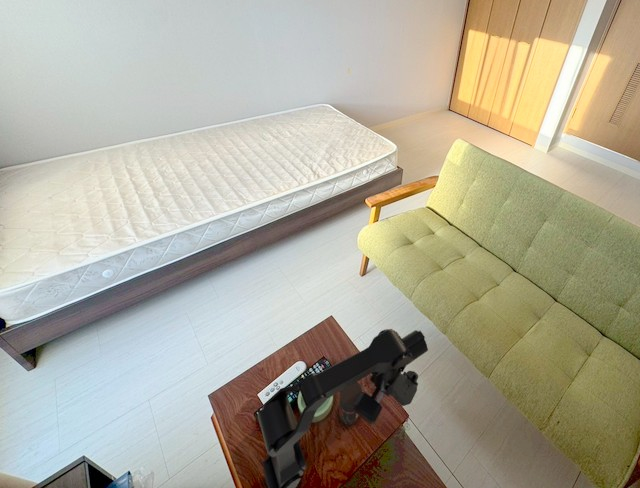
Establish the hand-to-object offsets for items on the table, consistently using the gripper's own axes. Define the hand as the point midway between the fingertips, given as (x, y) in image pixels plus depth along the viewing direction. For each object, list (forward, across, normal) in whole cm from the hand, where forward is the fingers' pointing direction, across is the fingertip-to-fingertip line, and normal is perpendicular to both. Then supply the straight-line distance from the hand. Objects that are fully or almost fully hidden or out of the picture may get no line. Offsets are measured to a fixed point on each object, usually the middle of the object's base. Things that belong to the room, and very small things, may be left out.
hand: (380, 393), depth 83 cm
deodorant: (+14, -5, +7) cm, 16 cm away
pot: (+14, -8, +17) cm, 23 cm away
